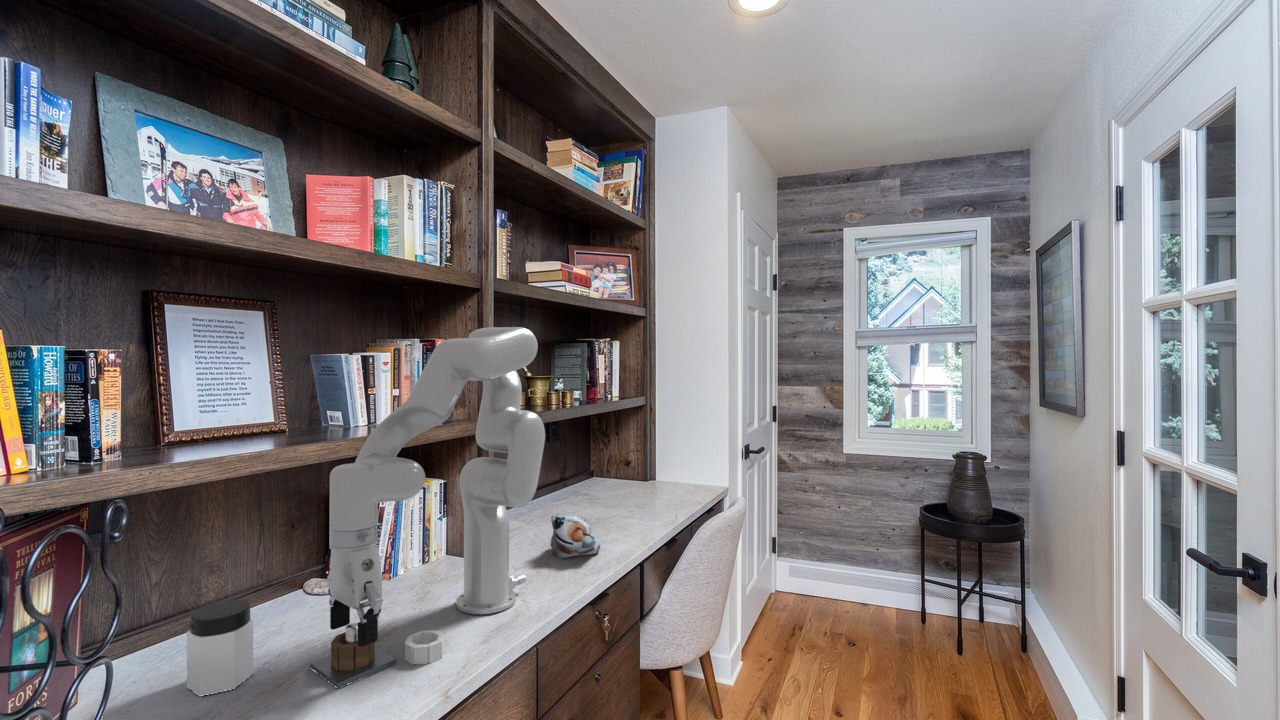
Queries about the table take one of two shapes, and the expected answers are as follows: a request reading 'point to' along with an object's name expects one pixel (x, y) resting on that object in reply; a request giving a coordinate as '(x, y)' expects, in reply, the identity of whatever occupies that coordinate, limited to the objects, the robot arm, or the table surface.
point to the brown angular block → (350, 654)
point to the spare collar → (424, 647)
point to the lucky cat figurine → (572, 537)
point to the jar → (219, 647)
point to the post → (345, 677)
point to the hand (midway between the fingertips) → (353, 634)
